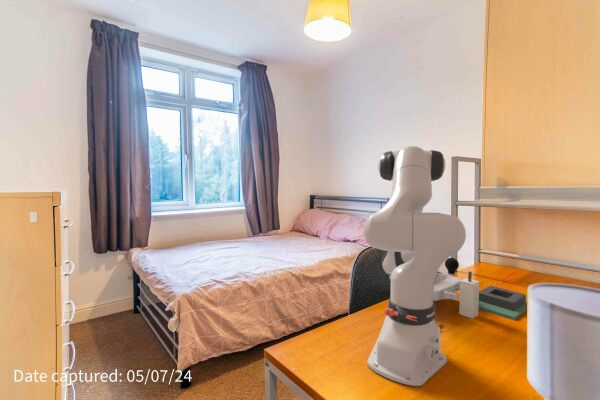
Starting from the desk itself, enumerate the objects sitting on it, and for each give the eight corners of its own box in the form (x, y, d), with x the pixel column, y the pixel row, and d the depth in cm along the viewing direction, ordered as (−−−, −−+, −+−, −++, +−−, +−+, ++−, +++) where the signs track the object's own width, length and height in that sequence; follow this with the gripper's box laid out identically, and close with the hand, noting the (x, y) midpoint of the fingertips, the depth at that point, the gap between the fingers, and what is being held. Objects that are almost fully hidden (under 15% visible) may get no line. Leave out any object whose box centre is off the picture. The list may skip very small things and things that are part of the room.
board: (514, 320, 102) (514, 308, 102) (465, 304, 115) (465, 294, 114) (536, 302, 115) (536, 292, 115) (489, 290, 128) (490, 281, 128)
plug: (472, 318, 104) (473, 274, 102) (459, 314, 107) (460, 271, 106) (478, 315, 106) (479, 271, 105) (465, 310, 110) (466, 268, 108)
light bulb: (460, 281, 140) (461, 259, 139) (448, 281, 140) (448, 259, 139) (454, 276, 146) (455, 256, 145) (442, 276, 146) (442, 256, 145)
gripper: (412, 281, 112) (449, 292, 101) (441, 270, 124) (477, 279, 113) (412, 297, 112) (449, 310, 101) (441, 285, 125) (477, 295, 114)
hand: (464, 293), depth 107 cm, fingers open, 8 cm apart
